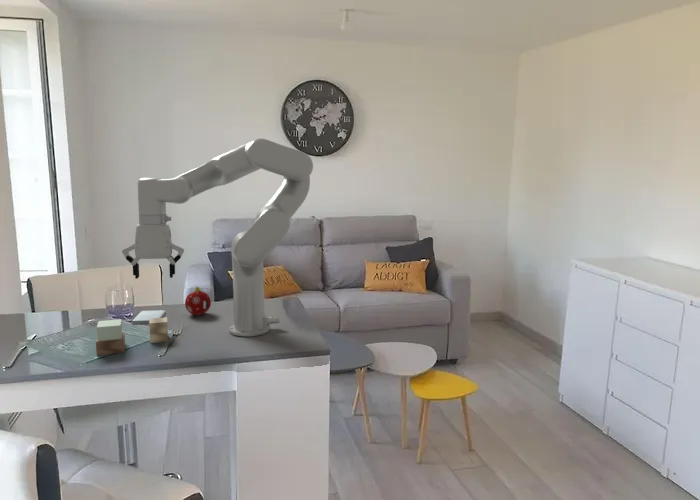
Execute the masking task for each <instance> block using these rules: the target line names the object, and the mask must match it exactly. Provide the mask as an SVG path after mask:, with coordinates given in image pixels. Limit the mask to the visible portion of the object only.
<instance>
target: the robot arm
mask: <svg viewBox="0 0 700 500" xmlns="http://www.w3.org/2000/svg"><path fill="white" fill-rule="evenodd" d="M260 169H262V170H264V171H266V172H270V173H273V174H276V175H279V176H282V177H283V180H282V183H281V186H279V188H278V189H277V190H276V192H275V193H274V194H273V196H272V197H271V198H269V200H268V202H266V203H265V205H264V206H262V208H261V209H260V210H259V211H258V212H257V214H256V216H255V221H254V223H253V224H251V226H250V227H249V228H248V229H247V230H245V231H241V232H239V233H237V234H236V236H235V237H234V238H233V240H232V242H231V250H230V251H231V263H232V264H231V265H232V266H231V267H232V296H233V297H232V299H233V324H232V325H230V326H229V327H228V331H229V333H230V334H232V335H233V336H237V337H238V336H239V337H256V336H257V337H258V336H261V335H264V334H267V333H268V332H269V331H270V324H271V325H272V324H274V325H276V324H280V323H281V322H280V317H279V316H278V317H277V316H276V317H275V316H266V315H265V279H264V278H265V273H264V272H265V270H264V268H265V267H264V261H265V260H266V259H267V258H268V257H269V256H270V254H271V253H272V252H273V251H274V250H275V249H276V248H277V247H278V246H279V244H280V243H281V242H282V240H283V239H284V238H285V237H286V236H287V234H288V233H289V230H290V225H291V224H290V223H291V218H292V217H293V216H294V215H295V214H296V212H297V211H298V210H299V208H300V207H301V206H302V205H303V203H304V202H305V200H306V199H307V196H308V194H309V191H310V185H311V178H310V177H311V174H312V173H313V169H314V163H313V160H312V158H311V156H310V155H308V154H307V153H305V152H304V151H300V150H299V149H298V150H297V149H295V148H292V147H289V146H286V145H283V144H280V143H277V142H274V141H271V140H270V139H269V140H268V139H265V138H256V139H252V140H251V141H249V142H247V143H245V144H242V145H240V146H238V147H236V148H234V149H231V150H229V151H227V152H224V153H222V154H220V155H217V156H216V157H213V158H212V159H210V160H208V161H207V162H206V163H203V164H201V165H200V166H198V167H196V168H193V169H191V170H188V171H187V172H185V173H182V174H180V175H178V176H175V177H173V178H166V179H165V178H161V177H160V178H159V177H142V178H139V179H138V181H137V203H138V224H136V227H135V239H134V244H132V245H129V246H128V247H125V248H124V249H122V251H121V253H122V254H123V256H124V258H125V259H126V261H128V263H130V264H131V265H132V275H133V276H135V277H134V278H135V279H139V278H140V264H139V262H140V260H152V259H153V260H162V259H163V260H164V259H166V260H167V261H168V262H169V278H171V279H173V277H174V275H176V263H177V262H178V261H180V259H181V258H182V256H183V254H184V252H185V249H184V248H182V247H181V246H178V245H176V244H175V243H173V242H172V234H171V232H172V231H171V227H170V224H169V223H167V222H169V221H170V222H171V221H172V216H169V215H167V205H166V203H169V204H178V205H181V204H185V203H187V202H188V201H190V199H191V198H192V197H195V196H198V195H199V194H202V193H203V192H205V191H208V190H212V189H213V188H217V187H220V186H225V185H229V184H231V183H233V182H235V181H237V180H239V179H242V178H243V177H244V178H245V176H249V174H252V173H255V172H257V171H259V170H260ZM133 250H134V255H135V258H133V256H131V255H130V253H129V252H132V251H133ZM173 250H174V251H176V252H177V255H176V256H175V257H174V256H173V255H172V253H173Z"/></svg>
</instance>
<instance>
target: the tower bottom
mask: <svg viewBox="0 0 700 500" xmlns="http://www.w3.org/2000/svg"><path fill="white" fill-rule="evenodd" d="M125 335H126V334H125V331H122V337H121V339H116V340H106V341H98V338H97V337H96V340H95V348H96V349H95V350H96V356H100V355H101V356H102V355H109V354H110V355H111V354H119V353H121V354H122V353H125V348H126V336H125Z"/></svg>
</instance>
